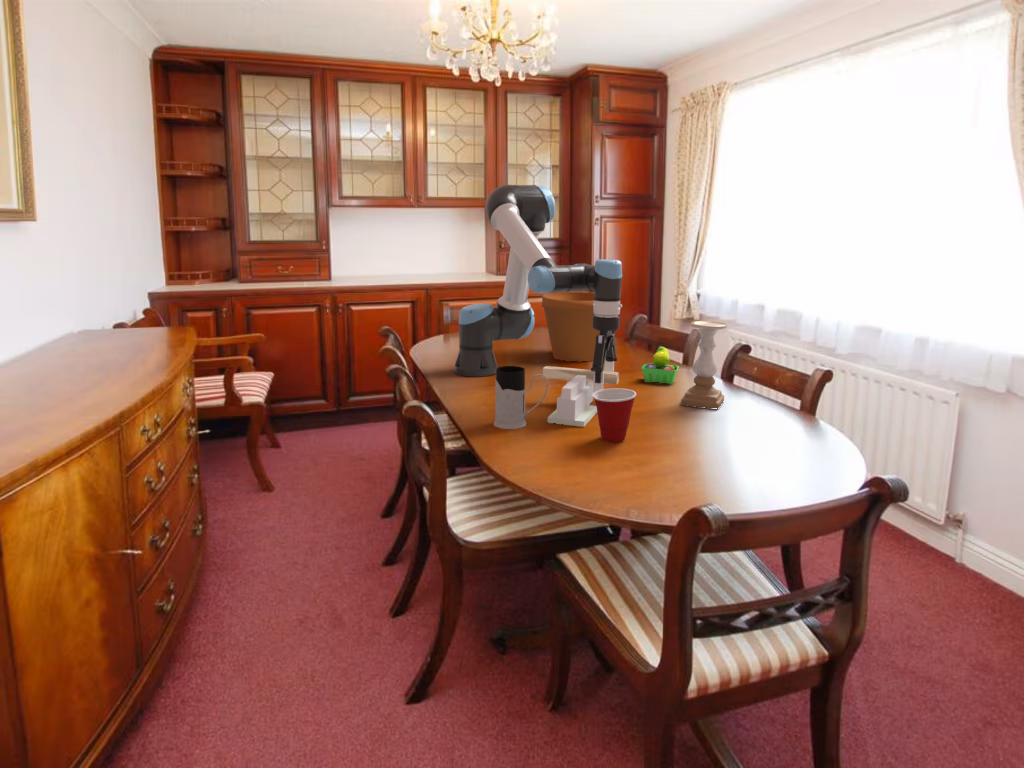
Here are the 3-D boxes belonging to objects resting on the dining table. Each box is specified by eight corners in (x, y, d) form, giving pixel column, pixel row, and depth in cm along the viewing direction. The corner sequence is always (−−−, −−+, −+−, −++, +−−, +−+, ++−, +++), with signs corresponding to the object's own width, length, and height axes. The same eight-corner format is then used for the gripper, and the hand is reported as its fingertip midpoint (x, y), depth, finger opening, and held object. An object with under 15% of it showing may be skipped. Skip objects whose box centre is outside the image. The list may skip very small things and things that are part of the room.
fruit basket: (639, 382, 230) (641, 349, 227) (645, 376, 238) (647, 344, 235) (674, 386, 226) (677, 352, 223) (679, 380, 234) (681, 347, 231)
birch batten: (545, 375, 207) (545, 366, 207) (618, 382, 200) (618, 372, 199) (542, 378, 205) (542, 368, 204) (616, 384, 197) (616, 374, 197)
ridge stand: (563, 407, 200) (564, 373, 197) (597, 411, 196) (599, 376, 194) (547, 422, 185) (548, 386, 183) (583, 427, 182) (585, 390, 179)
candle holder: (724, 401, 208) (731, 322, 202) (718, 410, 199) (725, 327, 193) (687, 396, 213) (693, 319, 207) (680, 405, 203) (685, 324, 197)
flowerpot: (536, 362, 258) (537, 299, 252) (545, 348, 285) (546, 291, 279) (612, 366, 254) (615, 302, 248) (614, 351, 281) (616, 293, 275)
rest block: (573, 398, 209) (573, 376, 207) (592, 400, 207) (593, 378, 205) (565, 405, 201) (566, 382, 200) (585, 407, 199) (586, 384, 198)
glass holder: (494, 419, 188) (494, 365, 184) (546, 420, 188) (548, 365, 184) (492, 428, 180) (492, 372, 176) (547, 429, 179) (548, 373, 175)
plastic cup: (586, 432, 177) (588, 387, 174) (628, 431, 178) (630, 386, 175) (594, 446, 167) (596, 398, 164) (639, 445, 168) (641, 398, 165)
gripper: (610, 322, 183) (606, 400, 188) (628, 310, 206) (624, 379, 211) (582, 320, 185) (579, 397, 190) (603, 309, 208) (600, 377, 213)
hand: (603, 388), depth 201 cm, fingers open, 13 cm apart
